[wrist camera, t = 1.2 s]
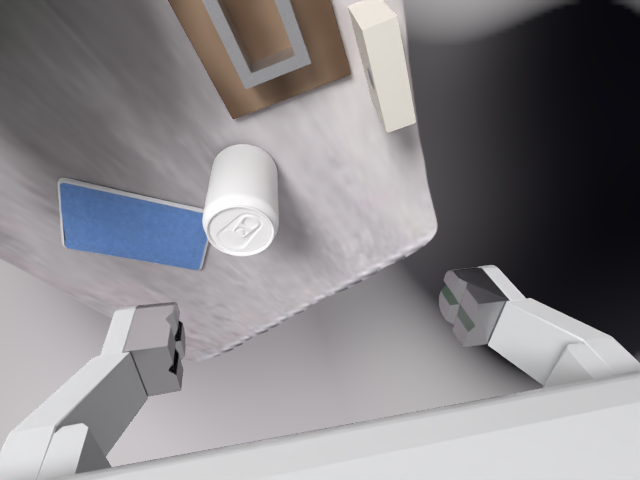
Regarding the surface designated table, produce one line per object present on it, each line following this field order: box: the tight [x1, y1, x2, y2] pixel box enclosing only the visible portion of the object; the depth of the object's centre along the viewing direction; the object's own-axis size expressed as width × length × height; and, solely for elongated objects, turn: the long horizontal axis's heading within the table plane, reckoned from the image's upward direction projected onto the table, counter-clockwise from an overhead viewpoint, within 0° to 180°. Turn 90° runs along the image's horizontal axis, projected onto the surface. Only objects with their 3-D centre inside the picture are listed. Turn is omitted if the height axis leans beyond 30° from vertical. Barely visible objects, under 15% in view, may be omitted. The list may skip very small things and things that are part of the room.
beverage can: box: [202, 144, 279, 256], centre depth 45 cm, size 8×8×12 cm
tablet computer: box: [57, 177, 209, 271], centre depth 54 cm, size 19×13×1 cm, turn 69°
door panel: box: [348, 0, 416, 133], centre depth 38 cm, size 3×10×8 cm, turn 19°
